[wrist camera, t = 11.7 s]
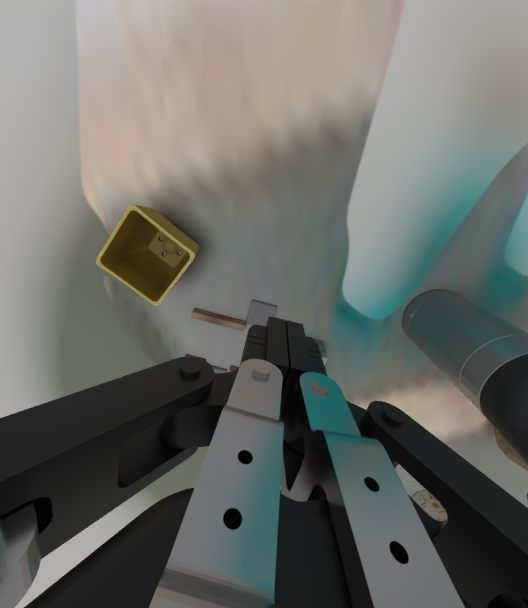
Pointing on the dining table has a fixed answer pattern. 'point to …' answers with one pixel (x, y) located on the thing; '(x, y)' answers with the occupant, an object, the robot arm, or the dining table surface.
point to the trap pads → (255, 319)
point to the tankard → (510, 451)
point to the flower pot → (147, 253)
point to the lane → (235, 325)
